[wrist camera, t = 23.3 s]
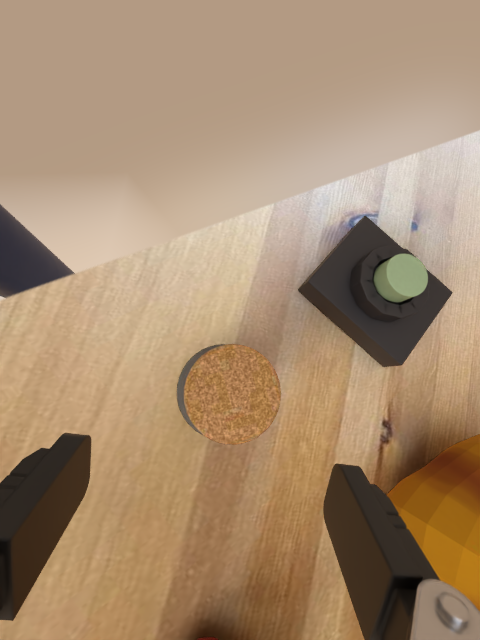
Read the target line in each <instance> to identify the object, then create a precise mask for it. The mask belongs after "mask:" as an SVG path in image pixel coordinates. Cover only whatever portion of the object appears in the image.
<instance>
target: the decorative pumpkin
mask: <svg viewBox="0 0 480 640" xmlns="http://www.w3.org/2000/svg"><path fill="white" fill-rule="evenodd" d="M387 496H388V497H389V498H390V500H391V501H392V503H393V505H394V506H395V508H396V510H397V511H398V513H399V516H401V518H402V519H403V521H404V522H405V524H406V526H407V529H409V530H410V532H411V534H412V535H413V537H414V539H415V540H416V542H417V543H418V545H419V547H420V548H421V550H422V551H423V553H424V555H425V556H426V558H427V560H428V561H429V563H430V564H431V566H432V568H433V569H434V571H435V572H436V574H437V576H438V577H439V579H440V580H441V581H443V582H445V583H447V584H449V585H451V586H453V587H454V588H456V589H457V590H459V591H460V592H461V593H462V594H464V595H465V596H466V597H467V598H468V599H469V600H470V601H471V602H472V603H473V604H474V605H475V606H476V608H477V609H478V610H479V611H480V434H479V435H476V436H474V437H471V438H468V439H466V440H463V441H461V442H458V443H456V444H454V445H453V446H451V447H449V448H447V449H445V450H444V451H443V452H441V453H440V454H439V455H438V456H437V457H435V458H434V459H433V460H432V461H431V462H430V463H428V464H427V465H426V466H425V467H423V468H421V469H420V470H418V471H416V472H415V473H413V474H411V475H410V476H408V477H406V478H404V479H403V480H401V481H400V482H399V483H398V484H397V485H396V486H395V487H394V488H393V489H392V490H391V491H390V492H389V493H388V494H387Z"/></svg>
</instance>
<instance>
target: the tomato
mask: <svg viewBox="0 0 480 640" xmlns="http://www.w3.org/2000/svg"><path fill="white" fill-rule="evenodd" d="M197 640H219V639H217V638H215V637H203V638H198V639H197Z"/></svg>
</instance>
